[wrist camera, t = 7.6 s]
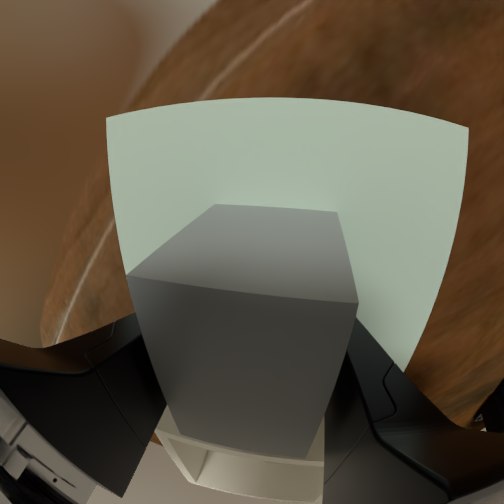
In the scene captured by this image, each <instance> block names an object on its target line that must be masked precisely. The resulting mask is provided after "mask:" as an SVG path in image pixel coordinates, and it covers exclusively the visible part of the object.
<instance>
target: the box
mask: <svg viewBox="0 0 504 504" xmlns="http://www.w3.org/2000/svg"><path fill="white" fill-rule="evenodd" d="M154 432H155V433H156V435H157V437H158V438H159V440H160V441H161V443H162V445H163V446H164V448H165V449H166V450H167V452H168V454H169V455H170V457H171V458H172V459H173V461H174V462H175V464H176V465H177V466H178V468H179V469H180V471H181V472H182V474H183V475H184V476H185V478H186V479H187V480H188V481H189V482H190V483H193V484H196V485H200V486H204V487H207V488H211V489H215V490H219V491H223V492H228V493H233V494H237V495H242V496H248V497H253V498H260V499H267V500H274V501H283V502H295V503H314V504H321V503H322V500H323V486H324V485H323V481H324V416H323V419H322V421H321V424H320V426H319V429H318V431H317V433H316V436H315V438H314V440H313V443H312V445H311V447H310V449H309V452H308V454H307V456H306V458H295V457H286V456H277V455H270V454H263V453H257V452H251V451H245V450H240V449H235V448H230V447H226V446H221V445H217V444H213V443H209V442H205V441H201V440H198V439H194V438H191V437H187V436H184V435H181V434H180V432H179V430H178V428H177V425H176V423H175V421H174V419H173V416H172V414H171V412H170V410H169V407H168V405H167V406H166V408H165V410H164V413H163V415H162V417H161V419H160V421H159V423H158V425H157V427H156V429H155V431H154ZM265 461H268V462H265ZM269 462H276V463H269ZM277 463H284V464H277Z"/></svg>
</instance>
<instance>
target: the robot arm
mask: <svg viewBox="0 0 504 504" xmlns="http://www.w3.org/2000/svg"><path fill="white" fill-rule="evenodd" d="M166 406H167V402H166V400H165V397H164V395H163V393H162V390H161V387H160V385H159V382H158V380H157V377H156V374H155V371H154V369H153V366H152V363H151V360H150V357H149V354H148V351H147V348H146V345H145V342H144V339H143V336H142V333H141V329H140V326H139V323H138V319H137V316H136V312H135V313H132V314H130V315H128V316H126V317H124V318H121V319H119V320H117V321H116V322H112V323H110V324H108V325H106V326H104V327H101V328H99V329H96V330H94V331H92V332H89V333H86V334H84V335H81V336H78V337H75V338H73V339H70V340H67V341H64V342H61V343H58V344H56V345H53V346H50V347H46V348H31V347H27V346H23V345H20V344H17V343H13V342H10V341H6V340H3V339H0V504H86V502H87V501H88V499H89V497H90V495H91V494H92V492H93V490H94V489H95V487H96V485H99V486H101V487H102V488H104V489H106V490H108V491H110V492H111V493H113V494H115V495H117V496H119V497H121V498H122V497H123V495H124V493H125V491H126V489H127V487H128V485H129V483H130V481H131V479H132V477H133V475H134V473H135V471H136V468H137V466H138V464H139V462H140V460H141V458H142V456H143V454H144V452H145V450H146V447H147V445H148V443H149V441H150V439H151V437H152V435H153V433H154V431H155V429H156V427H157V425H158V423H159V421H160V419H161V417H162V415H163V413H164V410H165V408H166ZM474 420H475V422H476V421H480V420H483V421H484V424H485V427H486V431H487V432H486V431H479V430H472V429H466V428H463V427H460V426H458V425H456V424H455V423H453V422H452V421H451V420H449V419H448V418H447V417H446V416H445V415H444V414H443V413H442V412H441V411H440V410H439V409H438V408H437V407H436V406H435V405H434V404H433V403H432V402H431V401H430V400H429V399H428V398H427V397H426V396H425V395H424V394H423V393H422V392H421V391H420V390H419V389H418V388H417V387H416V386H415V385H414V384H413V383H412V382H411V381H410V379H409V378H408V377H407V376H406V375H405V374H404V373H403V371H402V370H401V369H400V368H399V367H398V365H397V364H396V363H394V361H393V360H392V358H391V357H390V356H389V355H388V354H387V352H386V351H385V350H384V349H383V348H382V346H381V345H380V344H379V343H378V342H377V341H376V339H375V338H374V337H373V336H372V335H371V333H370V332H369V331H368V330H367V329H366V328H365V326H364V325H363V324H362V323H361V322H360V321H359V320H358V318H357V317H356V318H355V321H354V325H353V329H352V332H351V336H350V339H349V343H348V346H347V350H346V353H345V356H344V360H343V363H342V366H341V369H340V372H339V375H338V378H337V381H336V384H335V387H334V389H333V392H332V395H331V398H330V401H329V403H328V406H327V408H326V411H325V414H324V481H323V485H324V486H323V500H322V504H504V381H503V382H502V384H501V385H500V386H499V388H498V389H497V390H496V392H495V393H494V394H493V396H492V397H491V398H490V399H489V401H488V402H487V403H486V404H485V405H484V407H483V408H482V409H481V410H480V411H479V412H478V414H477V415H476V416H475V417H474Z"/></svg>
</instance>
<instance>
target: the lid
mask: <svg viewBox="0 0 504 504" xmlns="http://www.w3.org/2000/svg"><path fill="white" fill-rule="evenodd" d="M106 126H107V148H108V162H109V173H110V183H111V192H112V199H113V207H114V214H115V220H116V226H117V232H118V238H119V243H120V249H121V254H122V259H123V263H124V268H125V272H126V277H127V281H128V285H129V289H130V293H131V297H132V301H133V305H134V309H135V312H136V316H137V319H138V323H139V326H140V329H141V333H142V336H143V339H144V342H145V345H146V348H147V351H148V354H149V357H150V360H151V363H152V366H153V369H154V371H155V374H156V377H157V380H158V382H159V385H160V387H161V390H162V393H163V395H164V397H165V400H166V402H167V405H168V407H169V410H170V412H171V414H172V416H173V419H174V421H175V423H176V425H177V428H178V430H179V432H180V434H181V435H184V436H187V437H191V438H194V439H198V440H201V441H205V442H209V443H213V444H217V445H221V446H226V447H230V448H235V449H240V450H245V451H251V452H257V453H263V454H270V455H277V456H286V457H295V458H306V456H307V454H308V452H309V449H310V447H311V445H312V443H313V440H314V438H315V436H316V433H317V431H318V429H319V426H320V424H321V421H322V419H323V416H324V414H325V411H326V408H327V406H328V403H329V401H330V398H331V395H332V392H333V389H334V387H335V384H336V381H337V378H338V375H339V372H340V369H341V366H342V363H343V360H344V356H345V353H346V350H347V346H348V343H349V339H350V336H351V332H352V329H353V325H354V321H355V318H356V317H357V318H358V320H359V321H360V322H361V323H362V324H363V325H364V326H365V328H366V329H367V330H368V331H369V332H370V333H371V335H372V336H373V337H374V338H375V339H376V341H377V342H378V343H379V344H380V345H381V346H382V348H383V349H384V350H385V351H386V352H387V354H388V355H389V356H390V357H391V358H392V360H393V361H394V363H396V364H397V365H398V367H399V368H400V369H401V370H402V371H403V372H404V370H405V368H406V367H407V365H408V363H409V361H410V359H411V356H412V354H413V352H414V350H415V348H416V346H417V344H418V342H419V339H420V337H421V335H422V332H423V330H424V328H425V325H426V323H427V320H428V318H429V315H430V313H431V310H432V308H433V305H434V302H435V300H436V297H437V294H438V291H439V288H440V285H441V282H442V279H443V276H444V273H445V269H446V266H447V262H448V259H449V255H450V252H451V248H452V244H453V240H454V236H455V231H456V227H457V222H458V217H459V212H460V207H461V201H462V195H463V188H464V181H465V172H466V163H467V150H468V130H469V128H467V127H464V126H461V125H458V124H454V123H451V122H447V121H444V120H440V119H437V118H433V117H429V116H425V115H421V114H416V113H412V112H407V111H402V110H397V109H392V108H386V107H381V106H374V105H368V104H360V103H353V102H344V101H334V100H322V99H305V98H238V99H221V100H209V101H199V102H190V103H182V104H174V105H168V106H161V107H155V108H150V109H144V110H139V111H134V112H129V113H125V114H120V115H116V116H112V117H108V118H106Z"/></svg>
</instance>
